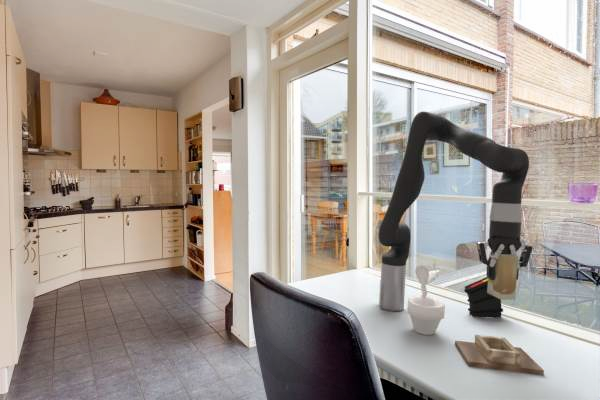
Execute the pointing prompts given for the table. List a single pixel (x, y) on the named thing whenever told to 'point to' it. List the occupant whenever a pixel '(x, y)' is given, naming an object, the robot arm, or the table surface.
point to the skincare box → (504, 277)
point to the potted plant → (425, 304)
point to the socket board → (497, 355)
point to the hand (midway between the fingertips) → (502, 280)
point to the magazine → (482, 300)
